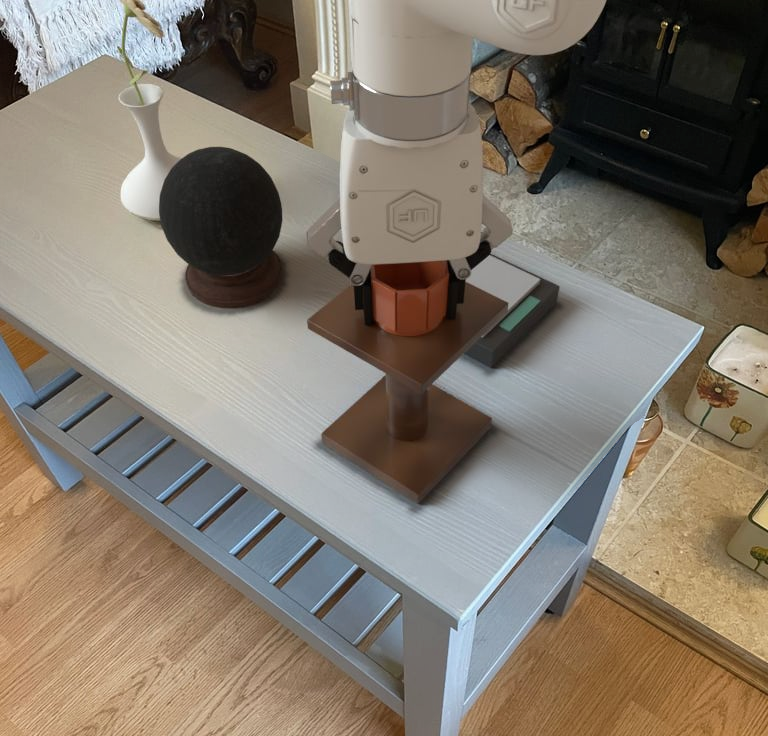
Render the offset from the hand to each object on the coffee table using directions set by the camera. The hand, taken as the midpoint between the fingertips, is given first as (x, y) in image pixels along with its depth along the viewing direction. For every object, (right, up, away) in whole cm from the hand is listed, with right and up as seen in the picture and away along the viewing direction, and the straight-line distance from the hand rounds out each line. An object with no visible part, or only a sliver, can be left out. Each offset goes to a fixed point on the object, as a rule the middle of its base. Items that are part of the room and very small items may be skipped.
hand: (408, 309), depth 67 cm
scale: (+8, +6, +24) cm, 26 cm away
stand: (0, -9, +13) cm, 16 cm away
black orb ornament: (-20, +11, +28) cm, 36 cm away
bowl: (0, 0, 0) cm, 0 cm away
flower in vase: (-30, +23, +37) cm, 53 cm away
